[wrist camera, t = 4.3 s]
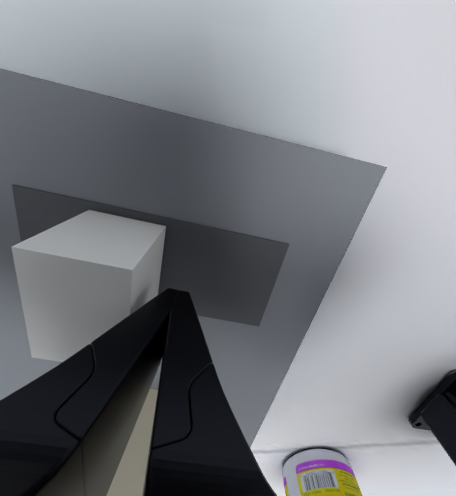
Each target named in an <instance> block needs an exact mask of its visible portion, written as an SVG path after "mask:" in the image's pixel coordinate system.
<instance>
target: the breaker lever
mask: <svg viewBox="0 0 456 496" xmlns="http://www.w3.org/2000/svg"><path fill="white" fill-rule="evenodd" d="M165 231H166V226H163V225H158V224H154V223H149V222H144V221H139V220H135V219H130V218H125V217H120V216H116V215H111V214H106V213H102V212H97V211H92V210H88V211H86V212H84V213H82V214H79V215H77V216H75V217H73V218H71V219H69V220H67V221H65V222H63V223H60V224H58V225H56V226H54V227H52V228H50V229H48V230H46V231H44V232H41V233H39V234H37V235H35V236H33V237H31V238H29V239H27V240H25V241H22V242H20V243H18V244H16V245H14V246H12V247H11V248H12V253H13V259H14V264H15V270H16V275H17V280H18V286H19V291H20V297H21V302H22V308H23V313H24V318H25V324H26V329H27V335H28V340H29V346H30V351H31V356H32V358H39V359H45V360H52V361H58V362H63V361H65V360H66V359H68V358H69V357H71V356H72V355H74V354H75V353H77V352H78V351H80V350H81V349H82V348H84V347H85V346H87V345H88V344H91V342H92V341H94V340H95V339H97V338H98V337H99V336H101V335H102V334H104V333H105V332H106V331H108V330H109V329H111V328H112V327H113V326H115V325H116V324H118V323H119V322H120V321H122V320H123V319H125V318H126V317H127V316H129V315H130V314H132V313H133V312H134V311H136V310H137V309H139V308H140V307H141V306H143V305H144V304H146V303H147V302H148V301H150V300H151V299H153V298H154V297H156V296H157V295H158V290H159V282H160V273H161V265H162V256H163V248H164V240H165Z"/></svg>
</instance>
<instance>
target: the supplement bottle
mask: <svg viewBox="0 0 456 496" xmlns="http://www.w3.org/2000/svg"><path fill="white" fill-rule="evenodd" d="M283 480H284V487H285V493H286V496H362V494H361V491H360V488H359V486H358V483H357V481H356V478H355V476H354V473H353V470H352V468H351V466H350V463H349V462H348V460H347V459H346V458H345V457H344V456H343V455H341V454H340V453H338V452H335V451H331V450H327V449H310V450H305V451H302V452H299V453H297V454H295V455H294V456H292V457H291V458H289V459H288V460H287V461H286V463H285V464H284V467H283Z"/></svg>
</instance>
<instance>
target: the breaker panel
mask: <svg viewBox="0 0 456 496" xmlns="http://www.w3.org/2000/svg"><path fill="white" fill-rule="evenodd" d="M386 168H387V167H384V166H380V165H376V164H372V163H368V162H364V161H361V160H357V159H353V158H349V157H345V156H341V155H337V154H333V153H329V152H325V151H321V150H317V149H314V148H310V147H306V146H302V145H298V144H294V143H290V142H286V141H282V140H278V139H274V138H270V137H267V136H263V135H259V134H255V133H251V132H247V131H243V130H239V129H235V128H231V127H227V126H223V125H219V124H216V123H212V122H208V121H204V120H200V119H196V118H192V117H188V116H184V115H180V114H176V113H172V112H169V111H165V110H161V109H157V108H153V107H149V106H145V105H141V104H137V103H133V102H129V101H125V100H122V99H118V98H114V97H110V96H106V95H102V94H98V93H94V92H90V91H86V90H82V89H78V88H75V87H71V86H67V85H63V84H59V83H55V82H51V81H47V80H43V79H39V78H35V77H31V76H28V75H24V74H20V73H16V72H12V71H8V70H4V69H0V400H2V399H3V398H5V397H7V396H8V395H10V394H12V393H13V392H15V391H17V390H18V389H20V388H22V387H23V386H25V385H27V384H28V383H30V382H32V381H33V380H35V379H37V378H38V377H40V376H41V375H43V374H45V373H46V372H48V371H50V370H51V369H53V368H54V367H56V366H58V365H59V364H60V363H62V362H58V361H52V360H45V359H39V358H32V356H31V351H30V346H29V340H28V335H27V329H26V324H25V318H24V313H23V308H22V302H21V297H20V291H19V286H18V280H17V275H16V270H15V264H14V259H13V253H12V248H11V247H12V246H14V245H16V244H18V243H20V242H22V241H25V240H27V239H29V238H31V237H33V236H35V235H37V234H39V233H41V232H44V231H46V230H48V229H50V228H52V227H54V226H56V225H58V224H60V223H63V222H65V221H67V220H69V219H71V218H73V217H75V216H77V215H79V214H82V213H84V212H86V211H88V210H92V211H97V212H102V213H106V214H111V215H116V216H120V217H125V218H130V219H135V220H139V221H144V222H149V223H154V224H158V225H163V226H166V231H165V240H164V248H163V256H162V265H161V273H160V282H159V290H158V294H160V293H161V292H163V291H164V290H165V289H167V288H172V289H177V290H183V291H188V292H190V295H191V298H192V301H193V304H194V307H195V310H196V313H197V316H198V319H199V322H200V325H201V328H202V331H203V334H204V337H205V340H206V343H207V346H208V349H209V352H210V355H211V358H212V361H213V364H214V366H215V369H216V372H217V375H218V378H219V381H220V383H221V386H222V389H223V391H224V394H225V396H226V398H227V400H228V403H229V405H230V407H231V409H232V412H233V414H234V416H235V418H236V420H237V422H238V424H239V426H240V428H241V430H242V432H243V434H244V436H245V439H246V441H247V443H248V445H249V447H251V445H252V443H253V441H254V439H255V437H256V435H257V432H258V430H259V428H260V426H261V424H262V422H263V420H264V418H265V416H266V414H267V412H268V410H269V408H270V406H271V404H272V402H273V400H274V398H275V396H276V394H277V392H278V389H279V387H280V385H281V383H282V381H283V379H284V377H285V375H286V373H287V371H288V369H289V367H290V365H291V363H292V361H293V359H294V357H295V355H296V353H297V351H298V348H299V346H300V344H301V342H302V340H303V338H304V336H305V334H306V332H307V330H308V328H309V326H310V324H311V322H312V320H313V318H314V316H315V314H316V312H317V310H318V307H319V305H320V303H321V301H322V299H323V297H324V295H325V293H326V291H327V289H328V287H329V285H330V283H331V281H332V279H333V277H334V275H335V273H336V271H337V269H338V267H339V264H340V262H341V260H342V258H343V256H344V254H345V252H346V250H347V248H348V246H349V244H350V242H351V240H352V238H353V236H354V234H355V232H356V230H357V228H358V226H359V223H360V221H361V219H362V217H363V215H364V213H365V211H366V209H367V207H368V205H369V203H370V201H371V199H372V197H373V195H374V193H375V191H376V189H377V187H378V185H379V183H380V180H381V178H382V176H383V174H384V172H385V170H386ZM162 358H163V357H162ZM161 364H162V360H161V363H160V365H159V368H158V370H157V372H156V375H155V377H154V380H153V382H152V385H151V387H150V389H155V390H158V385H159V378H160V371H161Z"/></svg>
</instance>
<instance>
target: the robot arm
mask: <svg viewBox="0 0 456 496" xmlns="http://www.w3.org/2000/svg"><path fill="white" fill-rule="evenodd" d="M162 357H163V358H162ZM161 360H162V364H161V371H160V378H159V385H158V392H157V398H156V405H155V412H154V419H153V426H152V432H151V439H150V446H149V453H148V460H147V466H146V473H145V480H144V487H143V494H142V496H277V495H276V493H275V492H274V491H273V489H272V488H271V486H270V485H269V483H268V482H267V480H266V478H265V477H264V475H263V473H262V471H261V469H260V467H259V465H258V463H257V461H256V459H255V457H254V455H253V453H252V451H251V449H250V447H249V445H248V443H247V441H246V439H245V436H244V434H243V432H242V430H241V428H240V426H239V424H238V422H237V420H236V418H235V416H234V414H233V412H232V409H231V407H230V405H229V403H228V400H227V398H226V396H225V394H224V391H223V389H222V386H221V383H220V381H219V378H218V375H217V372H216V369H215V366H214V364H213V361H212V358H211V355H210V352H209V349H208V346H207V343H206V340H205V337H204V334H203V331H202V328H201V325H200V322H199V319H198V316H197V313H196V310H195V307H194V304H193V301H192V298H191V295H190V292H188V291H183V290H177V289H172V288H167V289H165V290H164V291H163V292H161V293H160V294H158V295H157V296H156V297H154V298H153V299H151V300H150V301H148V302H147V303H146V304H144V305H143V306H141V307H140V308H139V309H137V310H136V311H134V312H133V313H132V314H130V315H129V316H127V317H126V318H125V319H123V320H122V321H120V322H119V323H118V324H116V325H115V326H113V327H112V328H111V329H109V330H108V331H106V332H105V333H104V334H102V335H101V336H99V337H98V338H97V339H95V340H94V341H92V342H91V344H88V345H87V346H85V347H84V348H82V349H81V350H80V351H78V352H77V353H75V354H74V355H72V356H71V357H69V358H68V359H66V360H65V361H63V362H62V363H60V364H59V365H58V366H56V367H54V368H53V369H51V370H50V371H48V372H46V373H45V374H43V375H41V376H40V377H38V378H37V379H35V380H33V381H32V382H30V383H28V384H27V385H25V386H23V387H22V388H20V389H18V390H17V391H15V392H13V393H12V394H10V395H8V396H7V397H5V398H3V399H2V400H0V496H107V493H108V491H109V488H110V486H111V483H112V481H113V478H114V476H115V473H116V471H117V468H118V466H119V464H120V461H121V459H122V456H123V454H124V451H125V449H126V446H127V444H128V441H129V439H130V436H131V434H132V432H133V429H134V427H135V424H136V422H137V419H138V417H139V414H140V412H141V409H142V407H143V404H144V402H145V400H146V397H147V395H148V392H149V390H150V387H151V385H152V382H153V380H154V377H155V375H156V372H157V370H158V368H159V365H160V363H161ZM409 422H410V424H411V425H412V427H413V428H418V429H425V430H431V431H432V433H433V434H434V436H435V437H436V438H437V440H438V441H439V443H440V444H441V446H442V447H443V448H444V450H445V451H446V453H447V454H448V456H449V457H450V458H451V460H452V461H453V463H454V464H455V465H456V372H455V373H452V374H451V375H449V377H448V378H447V379H446V380H445V381H444V382H443V383H442V384H441V385H440V386H439V387H438V388H437V389H436V391H435V392H434V393H433V394H432V395H431V396H430V397H429V398H428V399H427V400H426V401H425V402H424V403H423V405H422V406H421V407H420V408H419V409H418V410H417V411H416V412H415V413H414V414H413V415H412V416H411V417H410V419H409Z"/></svg>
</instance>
